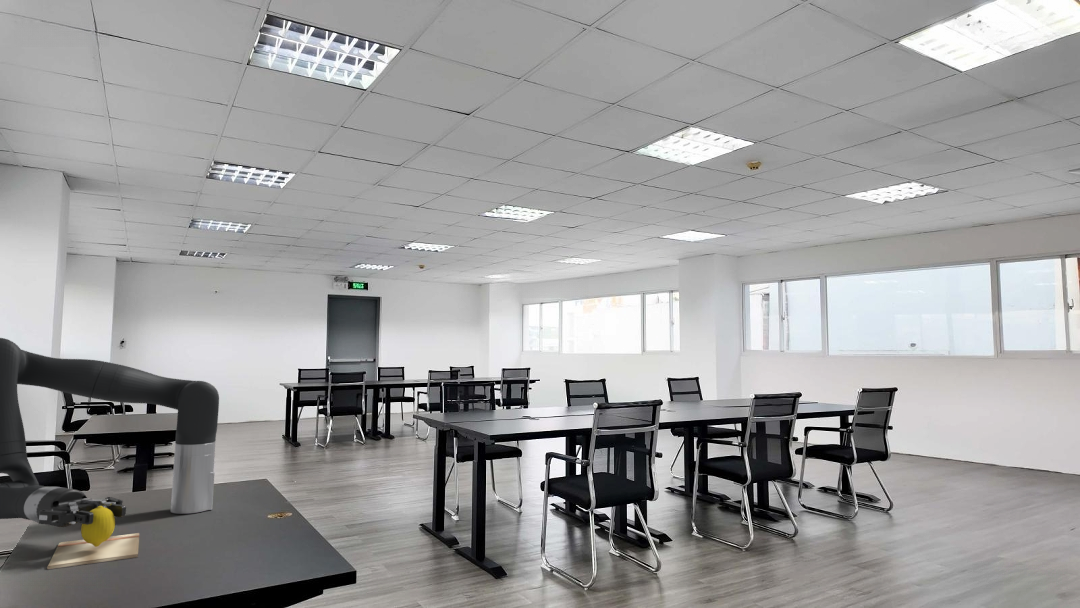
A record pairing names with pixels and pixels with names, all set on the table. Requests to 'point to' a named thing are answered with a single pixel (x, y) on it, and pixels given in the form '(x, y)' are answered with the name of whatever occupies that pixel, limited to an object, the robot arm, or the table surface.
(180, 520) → the table surface
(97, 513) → the lemon
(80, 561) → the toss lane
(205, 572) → the table surface
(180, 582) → the table surface
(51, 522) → the robot arm
